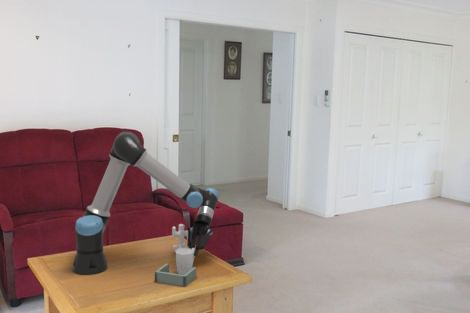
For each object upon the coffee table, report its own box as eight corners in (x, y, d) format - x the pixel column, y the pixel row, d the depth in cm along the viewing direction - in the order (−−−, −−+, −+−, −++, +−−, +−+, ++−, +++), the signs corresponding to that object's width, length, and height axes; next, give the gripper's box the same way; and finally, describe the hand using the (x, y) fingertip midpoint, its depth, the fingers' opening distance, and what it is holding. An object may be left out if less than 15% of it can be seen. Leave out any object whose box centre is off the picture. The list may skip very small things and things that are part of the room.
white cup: (190, 276, 210) (190, 254, 208) (173, 274, 212) (173, 253, 210) (195, 270, 217) (195, 249, 216) (179, 268, 219) (179, 247, 218)
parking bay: (154, 281, 203) (154, 271, 203) (166, 272, 214) (166, 263, 213) (185, 286, 199) (185, 276, 198) (196, 277, 209) (196, 267, 209)
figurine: (192, 254, 239) (193, 225, 237) (175, 257, 234) (175, 227, 232) (187, 250, 245) (187, 221, 243) (170, 252, 241) (170, 223, 239)
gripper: (218, 222, 232) (205, 267, 219) (194, 220, 237) (180, 263, 223) (215, 214, 227) (201, 260, 213) (189, 212, 231) (175, 256, 218)
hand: (190, 261), depth 218 cm, fingers closed
